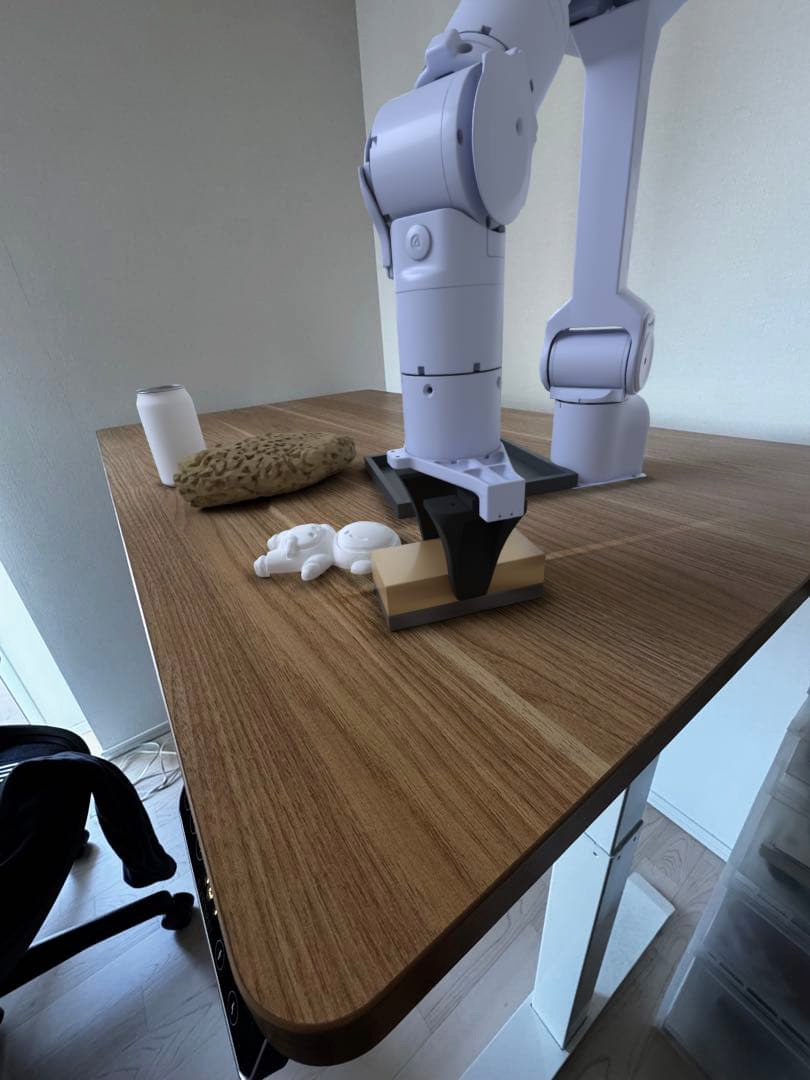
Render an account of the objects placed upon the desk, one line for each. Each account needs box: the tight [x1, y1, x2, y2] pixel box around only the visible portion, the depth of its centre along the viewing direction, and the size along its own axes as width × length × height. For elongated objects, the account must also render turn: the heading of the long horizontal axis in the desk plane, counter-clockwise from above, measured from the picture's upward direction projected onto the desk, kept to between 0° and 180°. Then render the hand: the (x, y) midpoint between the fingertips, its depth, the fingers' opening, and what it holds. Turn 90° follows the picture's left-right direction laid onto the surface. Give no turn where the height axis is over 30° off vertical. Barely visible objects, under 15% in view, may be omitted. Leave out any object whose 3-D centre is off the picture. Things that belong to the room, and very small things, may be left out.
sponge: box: [173, 431, 357, 509], centre depth 53 cm, size 13×8×20 cm
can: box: [135, 384, 207, 488], centre depth 58 cm, size 6×6×12 cm
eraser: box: [370, 527, 546, 632], centre depth 31 cm, size 11×5×4 cm, turn 105°
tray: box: [363, 435, 578, 520], centre depth 53 cm, size 20×18×2 cm
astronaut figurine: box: [253, 520, 402, 582], centre depth 38 cm, size 9×12×3 cm
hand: (455, 574), depth 31 cm, fingers closed on eraser, 5 cm apart
